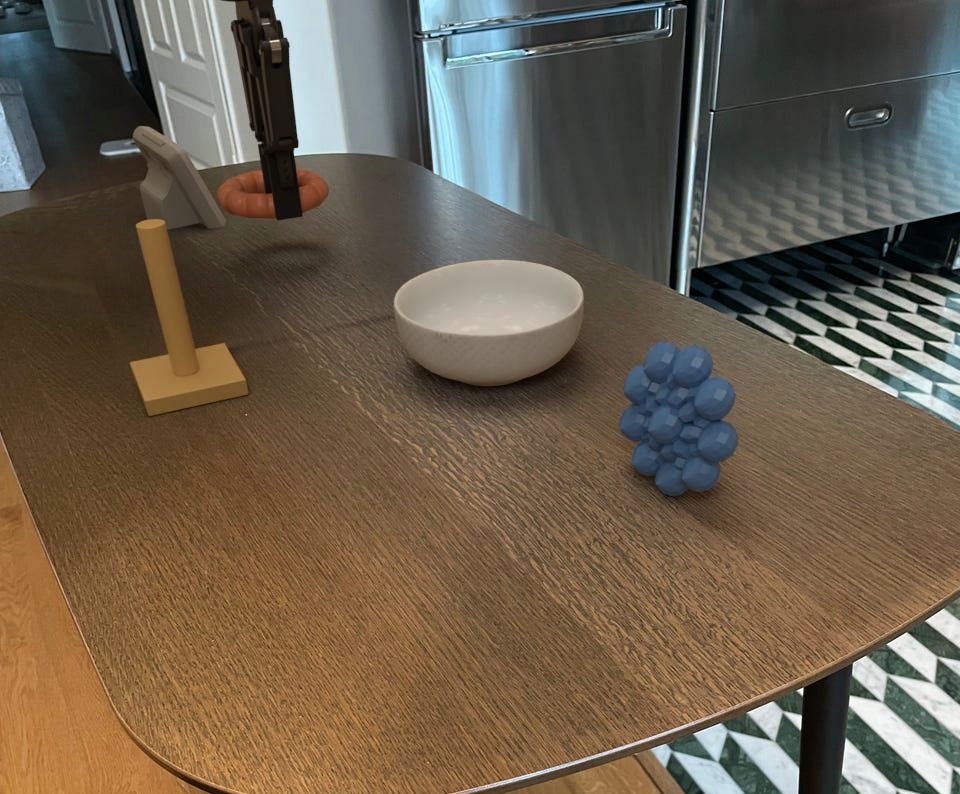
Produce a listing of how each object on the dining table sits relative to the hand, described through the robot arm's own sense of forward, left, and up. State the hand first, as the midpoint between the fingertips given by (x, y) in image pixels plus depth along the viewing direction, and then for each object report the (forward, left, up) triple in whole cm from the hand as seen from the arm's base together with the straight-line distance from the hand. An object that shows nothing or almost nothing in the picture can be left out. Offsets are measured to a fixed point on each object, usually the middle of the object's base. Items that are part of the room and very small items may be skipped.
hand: (285, 212), depth 107 cm
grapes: (+56, +14, -8) cm, 59 cm away
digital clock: (-28, -7, -8) cm, 29 cm away
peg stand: (+20, -16, -8) cm, 27 cm away
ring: (-5, 0, +1) cm, 5 cm away
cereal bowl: (+30, +10, -8) cm, 33 cm away
